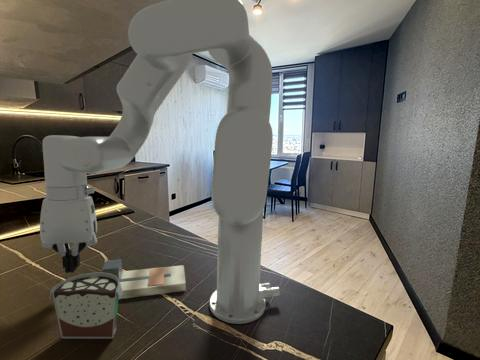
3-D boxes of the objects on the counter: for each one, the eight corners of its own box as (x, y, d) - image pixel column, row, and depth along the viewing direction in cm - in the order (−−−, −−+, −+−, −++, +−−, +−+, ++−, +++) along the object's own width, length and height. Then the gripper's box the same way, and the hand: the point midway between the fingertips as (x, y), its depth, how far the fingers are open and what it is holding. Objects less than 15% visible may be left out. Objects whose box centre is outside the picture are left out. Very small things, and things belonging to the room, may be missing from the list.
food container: (134, 315, 53) (132, 271, 51) (121, 338, 47) (119, 289, 45) (73, 315, 52) (70, 270, 51) (53, 338, 46) (48, 288, 45)
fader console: (183, 271, 70) (183, 264, 70) (185, 290, 62) (185, 282, 61) (95, 281, 64) (95, 273, 64) (84, 303, 56) (83, 294, 56)
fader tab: (122, 273, 64) (121, 259, 63) (119, 283, 59) (118, 267, 59) (107, 275, 63) (106, 260, 62) (102, 285, 59) (101, 269, 58)
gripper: (108, 189, 61) (110, 259, 64) (35, 189, 57) (41, 264, 60) (100, 196, 54) (103, 275, 57) (16, 196, 50) (24, 282, 53)
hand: (71, 269), depth 58 cm, fingers closed
